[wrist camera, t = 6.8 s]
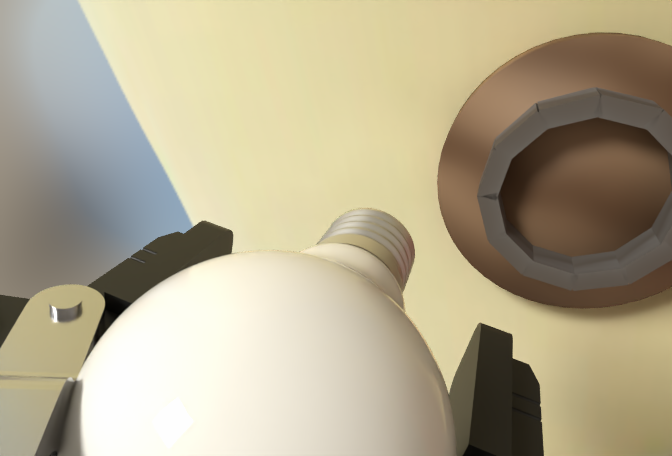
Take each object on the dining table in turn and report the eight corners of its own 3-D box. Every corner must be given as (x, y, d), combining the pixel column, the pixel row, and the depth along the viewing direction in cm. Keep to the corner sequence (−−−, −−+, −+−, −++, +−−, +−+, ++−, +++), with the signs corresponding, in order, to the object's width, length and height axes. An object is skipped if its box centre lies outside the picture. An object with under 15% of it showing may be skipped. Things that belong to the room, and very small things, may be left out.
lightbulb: (521, 186, 13) (542, 675, 4) (436, 356, 16) (330, 860, 7) (304, 106, 14) (-115, 335, 5) (262, 281, 17) (-41, 631, 8)
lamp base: (487, 3, 26) (483, 5, 23) (810, 72, 23) (861, 87, 20) (414, 246, 33) (402, 276, 30) (653, 323, 30) (671, 365, 27)
